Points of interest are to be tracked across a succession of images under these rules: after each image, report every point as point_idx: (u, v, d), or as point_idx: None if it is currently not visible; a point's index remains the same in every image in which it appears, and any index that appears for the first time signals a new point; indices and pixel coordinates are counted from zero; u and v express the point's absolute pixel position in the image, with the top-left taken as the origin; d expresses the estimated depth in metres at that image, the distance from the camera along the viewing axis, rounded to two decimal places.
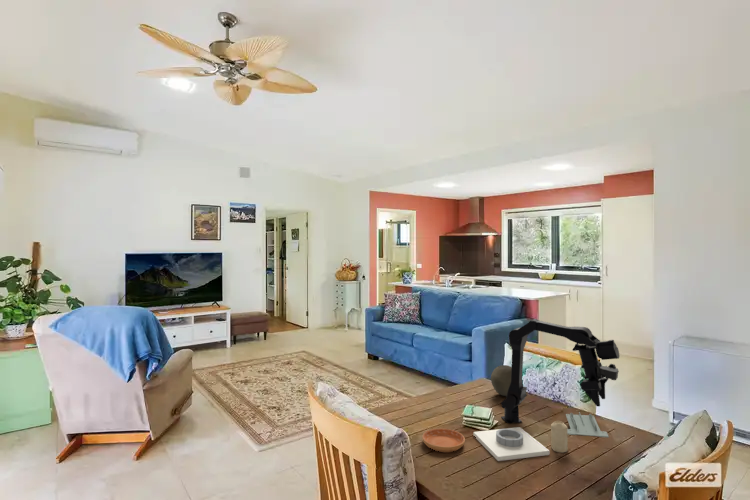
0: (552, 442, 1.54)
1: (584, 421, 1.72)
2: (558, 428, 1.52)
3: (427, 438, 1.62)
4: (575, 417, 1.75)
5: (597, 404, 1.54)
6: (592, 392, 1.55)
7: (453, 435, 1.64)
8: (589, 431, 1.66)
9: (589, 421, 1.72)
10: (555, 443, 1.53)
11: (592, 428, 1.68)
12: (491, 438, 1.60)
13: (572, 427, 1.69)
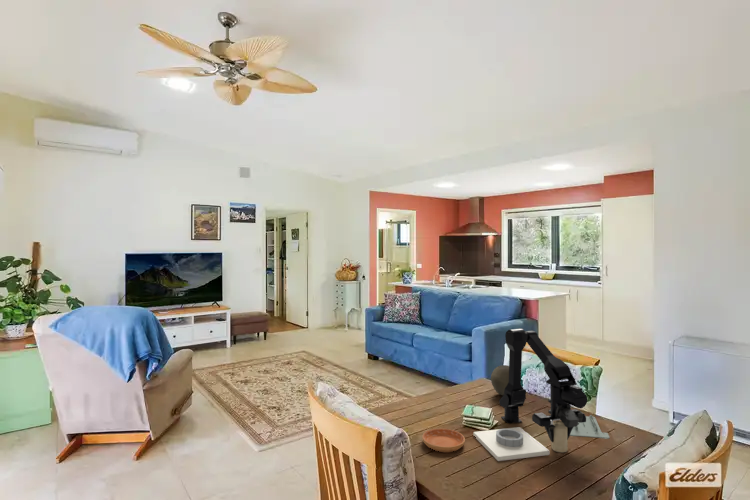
0: (552, 442, 1.54)
1: (585, 422, 1.71)
2: (558, 428, 1.52)
3: (427, 438, 1.62)
4: None
5: (550, 439, 1.54)
6: None
7: (453, 435, 1.64)
8: (590, 432, 1.65)
9: (590, 422, 1.71)
10: (555, 443, 1.53)
11: (593, 429, 1.67)
12: (491, 438, 1.60)
13: None
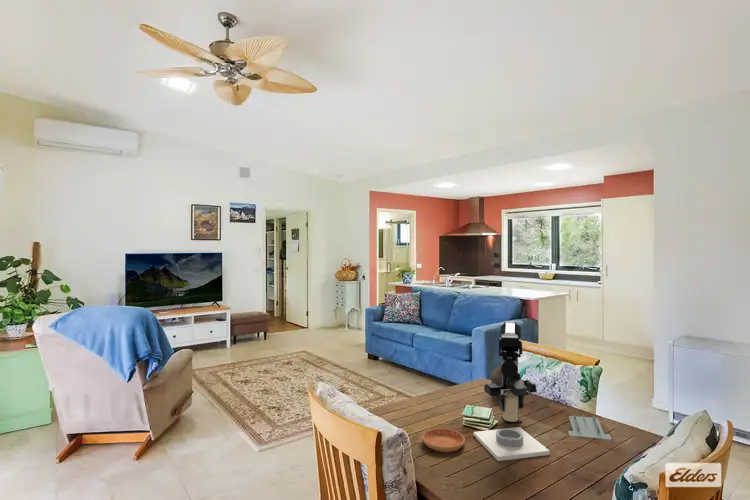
0: (503, 412, 1.57)
1: (587, 423, 1.70)
2: (509, 397, 1.55)
3: (427, 438, 1.62)
4: (578, 419, 1.73)
5: (502, 409, 1.57)
6: (499, 397, 1.57)
7: (453, 435, 1.64)
8: (592, 433, 1.64)
9: (592, 423, 1.70)
10: (505, 413, 1.56)
11: (595, 430, 1.66)
12: (491, 438, 1.60)
13: (574, 429, 1.68)
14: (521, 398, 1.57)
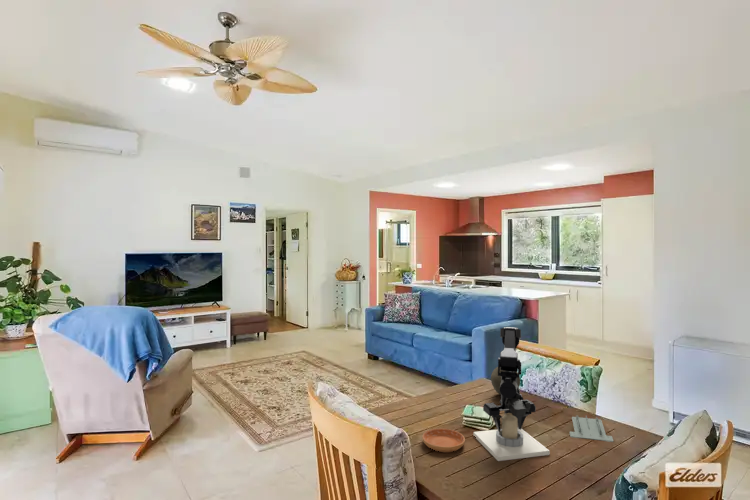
0: (502, 434, 1.58)
1: (590, 425, 1.69)
2: (508, 420, 1.56)
3: (427, 438, 1.62)
4: (581, 420, 1.72)
5: (498, 429, 1.57)
6: None
7: (453, 435, 1.64)
8: (593, 435, 1.63)
9: (595, 425, 1.68)
10: (505, 435, 1.56)
11: (597, 432, 1.65)
12: (491, 438, 1.60)
13: (576, 430, 1.67)
14: (523, 417, 1.57)
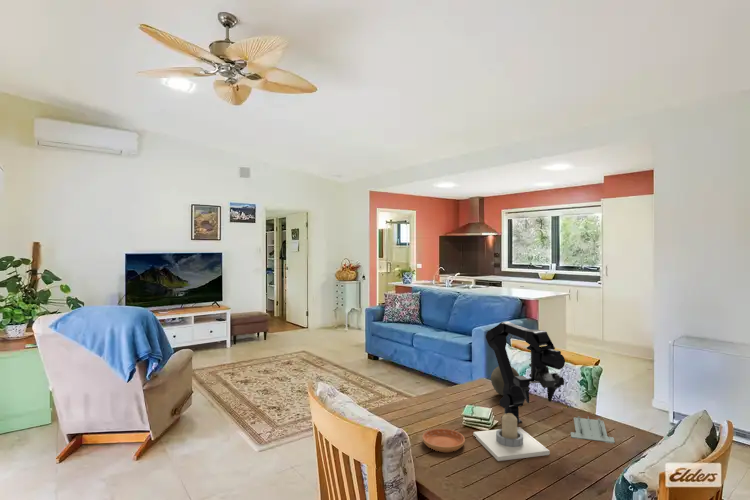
0: (502, 434, 1.58)
1: (592, 425, 1.68)
2: (508, 420, 1.56)
3: (427, 438, 1.62)
4: (583, 421, 1.71)
5: (526, 400, 1.65)
6: (524, 389, 1.65)
7: (453, 435, 1.64)
8: (595, 436, 1.62)
9: (597, 426, 1.67)
10: (504, 435, 1.56)
11: (599, 433, 1.64)
12: (491, 438, 1.60)
13: (577, 431, 1.66)
14: (553, 390, 1.65)
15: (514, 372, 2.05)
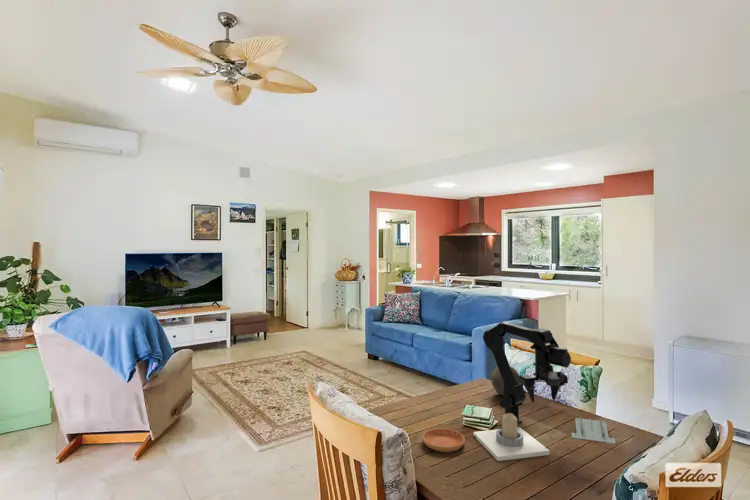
0: (502, 434, 1.58)
1: (593, 426, 1.67)
2: (508, 420, 1.56)
3: (427, 438, 1.62)
4: (584, 422, 1.70)
5: (531, 399, 1.66)
6: (529, 388, 1.66)
7: (453, 435, 1.64)
8: (596, 436, 1.62)
9: (598, 427, 1.67)
10: (504, 435, 1.56)
11: (600, 434, 1.63)
12: (491, 438, 1.60)
13: (578, 431, 1.66)
14: (557, 388, 1.67)
15: (514, 372, 2.05)
